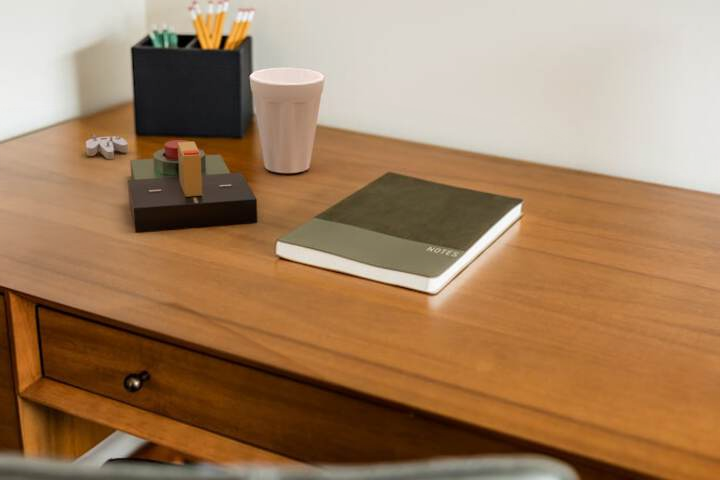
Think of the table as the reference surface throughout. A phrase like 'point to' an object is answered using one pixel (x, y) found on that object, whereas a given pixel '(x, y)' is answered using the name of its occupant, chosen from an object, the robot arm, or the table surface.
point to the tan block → (190, 169)
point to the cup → (287, 115)
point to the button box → (173, 166)
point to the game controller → (106, 146)
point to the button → (172, 149)
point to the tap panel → (191, 203)
